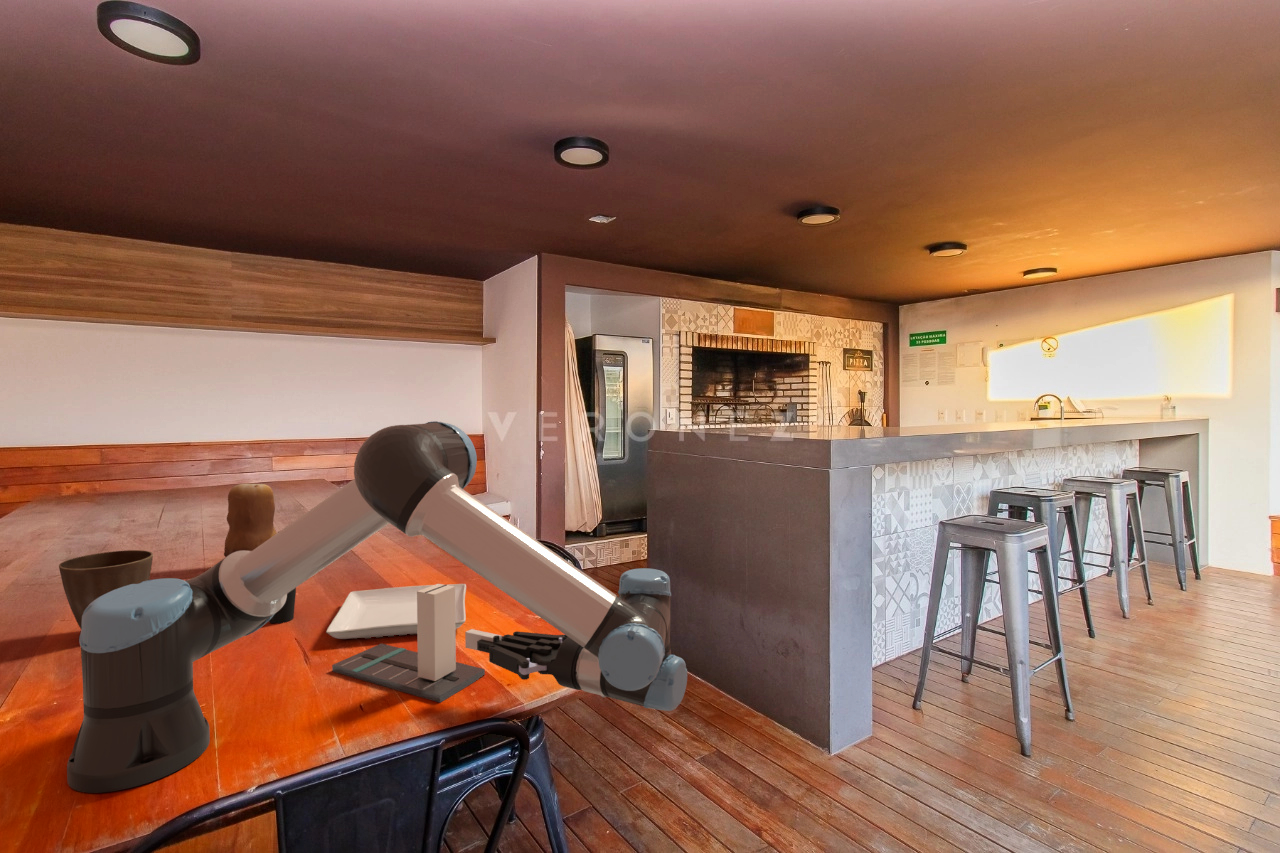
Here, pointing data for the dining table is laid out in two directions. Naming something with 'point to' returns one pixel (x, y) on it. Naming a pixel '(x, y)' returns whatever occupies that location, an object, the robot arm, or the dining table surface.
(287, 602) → the drinking cup
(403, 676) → the dark grey marked board
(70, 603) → the plant pot
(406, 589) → the square plate
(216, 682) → the dining table surface
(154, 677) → the robot arm
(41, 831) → the dining table surface
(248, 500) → the butternut squash
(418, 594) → the fader tab
